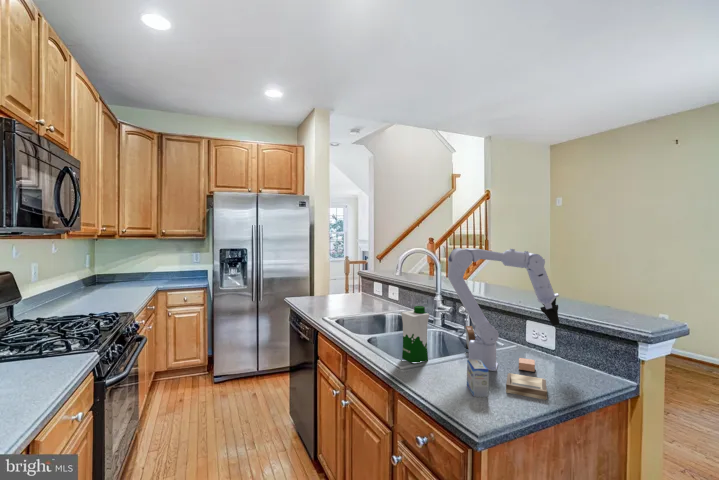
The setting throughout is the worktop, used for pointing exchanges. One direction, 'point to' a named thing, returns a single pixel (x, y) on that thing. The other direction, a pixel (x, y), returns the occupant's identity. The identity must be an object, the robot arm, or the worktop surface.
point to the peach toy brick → (527, 364)
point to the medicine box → (477, 378)
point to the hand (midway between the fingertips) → (555, 320)
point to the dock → (526, 386)
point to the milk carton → (415, 334)
